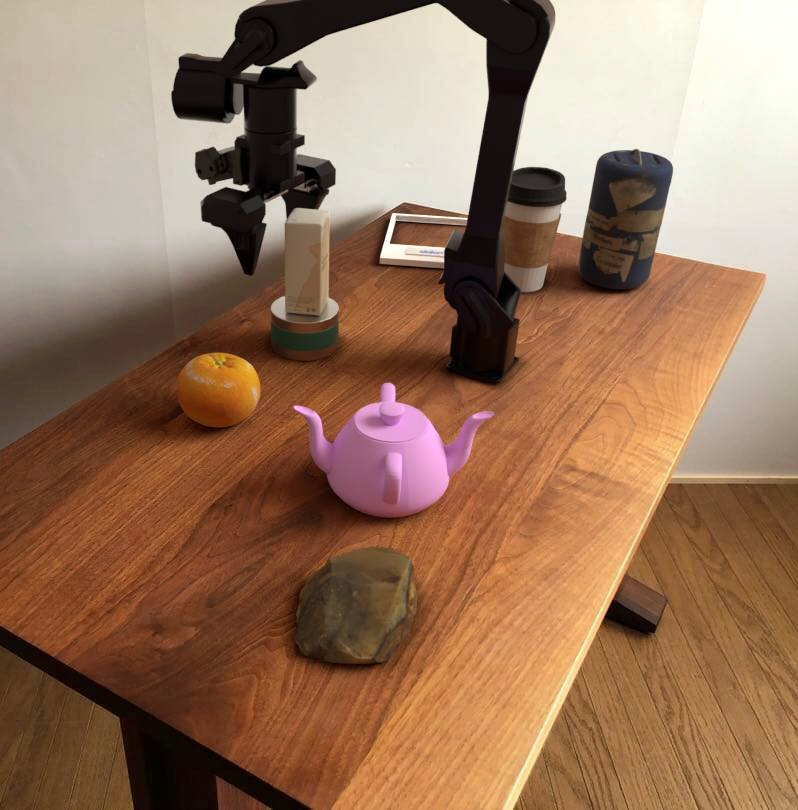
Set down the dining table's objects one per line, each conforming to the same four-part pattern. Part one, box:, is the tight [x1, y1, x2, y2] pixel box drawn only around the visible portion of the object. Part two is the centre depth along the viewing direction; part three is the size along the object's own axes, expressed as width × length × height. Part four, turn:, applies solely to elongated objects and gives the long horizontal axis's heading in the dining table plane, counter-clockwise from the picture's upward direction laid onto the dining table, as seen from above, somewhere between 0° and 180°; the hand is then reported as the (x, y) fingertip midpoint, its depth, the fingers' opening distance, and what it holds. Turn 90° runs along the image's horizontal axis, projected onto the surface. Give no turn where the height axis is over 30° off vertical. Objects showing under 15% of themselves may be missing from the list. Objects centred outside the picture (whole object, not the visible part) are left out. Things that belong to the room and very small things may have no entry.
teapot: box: [293, 382, 495, 518], centre depth 84 cm, size 12×14×9 cm
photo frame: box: [379, 212, 468, 269], centre depth 136 cm, size 15×1×18 cm
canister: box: [577, 148, 674, 290], centre depth 121 cm, size 10×10×18 cm
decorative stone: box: [294, 545, 418, 665], centre depth 71 cm, size 10×9×4 cm
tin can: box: [270, 295, 340, 362], centre depth 108 cm, size 8×8×5 cm
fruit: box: [176, 352, 261, 428], centre depth 95 cm, size 8×8×8 cm
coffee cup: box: [503, 166, 568, 293], centre depth 121 cm, size 8×8×15 cm
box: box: [284, 208, 331, 315], centre depth 105 cm, size 5×4×11 cm
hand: (272, 261), depth 107 cm, fingers open, 9 cm apart
